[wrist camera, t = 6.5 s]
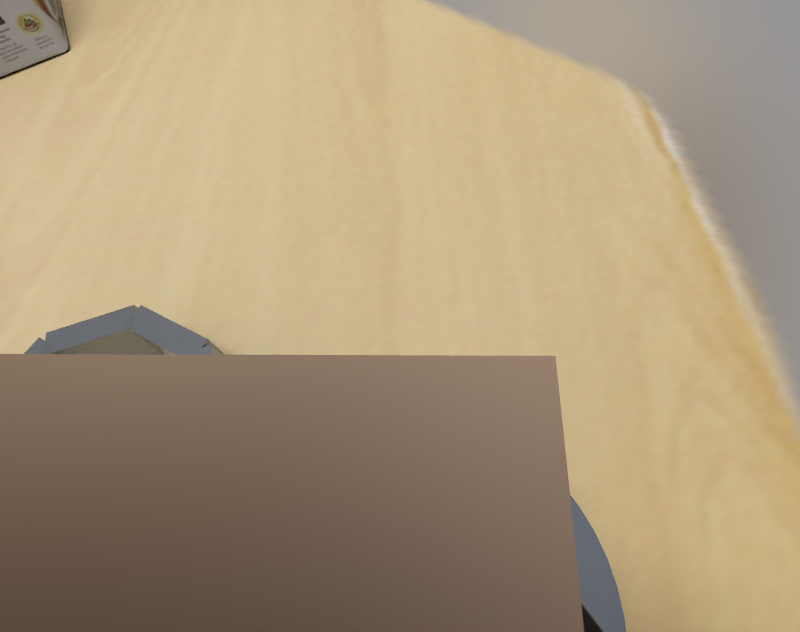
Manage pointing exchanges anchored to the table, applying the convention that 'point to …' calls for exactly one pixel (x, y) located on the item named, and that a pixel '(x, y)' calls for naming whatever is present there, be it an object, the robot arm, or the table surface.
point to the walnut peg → (284, 494)
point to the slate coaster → (595, 576)
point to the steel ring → (125, 336)
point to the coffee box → (30, 33)
